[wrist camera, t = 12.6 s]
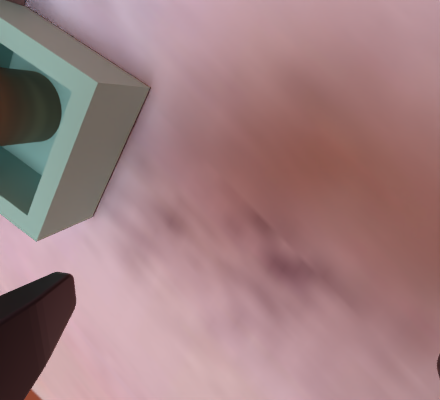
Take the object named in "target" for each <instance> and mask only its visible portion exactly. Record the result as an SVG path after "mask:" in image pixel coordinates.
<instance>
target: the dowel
mask: <svg viewBox="0 0 440 400" xmlns="http://www.w3.org/2000/svg"><path fill="white" fill-rule="evenodd" d="M61 114H62V110H61V102H60V98H59V95H58V93H57V91H56V89H55V87H54V86H53V84H52V83H51V82H50V81H49V79H47V78H46V77H45V76H44V75H42V74H40V73H38V72H35V71H28V70H20V69H11V68H2V67H0V146H6V145H15V144H24V143H33V142H42V141H46V140H48V139H49V138H51V137H52V136H53V135H54V134H55V133H56V131H57V129H58V127H59V125H60V121H61Z"/></svg>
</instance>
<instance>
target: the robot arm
mask: <svg viewBox="0 0 440 400" xmlns="http://www.w3.org/2000/svg"><path fill="white" fill-rule="evenodd" d="M75 305H76V294H75V285H74V278H73V276H72V275H71V274H68V273H62V272H54V273H52V274H50V275H47V276H45V277H43V278H40V279H38V280H36V281H33V282H31V283H29V284H26V285H24V286H22V287H20V288H17V289H15V290H13V291H10V292H8V293H6V294H3V295H1V296H0V400H24V399H25V397H26V396H27V394H28V393H29V391H30V389H31V388H32V386H33V385H34V383H35V382H36V380H37V379H38V377H39V375H40V374H41V372H42V371H43V369H44V367H45V366H46V364H47V362H48V360H49V358H50V357H51V355H52V353H53V351H54V349H55V347H56V345H57V343H58V341H59V339H60V337H61V335H62V333H63V331H64V329H65V327H66V325H67V323H68V321H69V319H70V317H71V315H72V313H73V311H74V309H75ZM437 370H438V374H439V378H440V355H439V357H438V360H437Z"/></svg>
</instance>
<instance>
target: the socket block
mask: <svg viewBox="0 0 440 400" xmlns="http://www.w3.org/2000/svg"><path fill="white" fill-rule="evenodd" d="M0 67H2V68H11V69H20V70H28V71H35V72H38V73H40V74H42V75H44V76H45V77H46V78H47V79H49V81H50V82H51V83H52V84H53V86H54V87H55V89H56V91H57V93H58V95H59V98H60V102H61V110H62V114H61V121H60V125H59V127H58V129H57V131H56V133H55V134H54V135H53V136H52V137H51V138H49V139H48V140H46V141H42V142H33V143H24V144H15V145H6V146H0V214H1V215H2V216H4V217H5V218H6V219H7V220H9V221H10V222H11V223H13V224H14V225H15V226H17V227H18V228H19V229H20V230H22V231H23V232H24V233H26V234H27V235H28V236H30V237H31V238H32V239H34V240H35V241H36V242H37V241H39V240H41V239H43V238H46V237H48V236H50V235H53V234H55V233H57V232H59V231H62V230H64V229H66V228H69V227H71V226H73V225H75V224H78V223H80V222H82V221H85V220H87V219H89V218H91V217H92V216H93V214H94V212H95V210H96V207H97V205H98V203H99V201H100V198H101V196H102V194H103V192H104V190H105V187H106V185H107V183H108V181H109V178H110V176H111V174H112V172H113V170H114V167H115V165H116V163H117V161H118V158H119V156H120V154H121V152H122V149H123V147H124V145H125V143H126V141H127V138H128V136H129V134H130V132H131V129H132V127H133V125H134V123H135V120H136V118H137V116H138V114H139V112H140V109H141V107H142V105H143V103H144V100H145V98H146V96H147V94H148V91H149V89H150V87H148V86H147V85H145V84H144V83H142V82H141V81H139V80H138V79H136V78H135V77H133V76H132V75H130V74H129V73H127V72H125V71H124V70H122V69H121V68H119V67H118V66H116V65H115V64H113V63H112V62H110V61H109V60H107V59H106V58H104V57H102V56H101V55H99V54H98V53H96V52H95V51H93V50H92V49H90V48H89V47H87V46H86V45H84V44H83V43H81V42H79V41H78V40H76V39H75V38H73V37H72V36H70V35H69V34H67V33H66V32H64V31H63V30H61V29H60V28H58V27H56V26H55V25H53V24H52V23H50V22H49V21H47V20H46V19H44V18H43V17H41V16H40V15H38V14H37V13H35V12H33V11H32V10H30V9H29V8H27V7H25V6H22V5H19V4H16V3H13V2H9V1H6V0H0Z"/></svg>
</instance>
